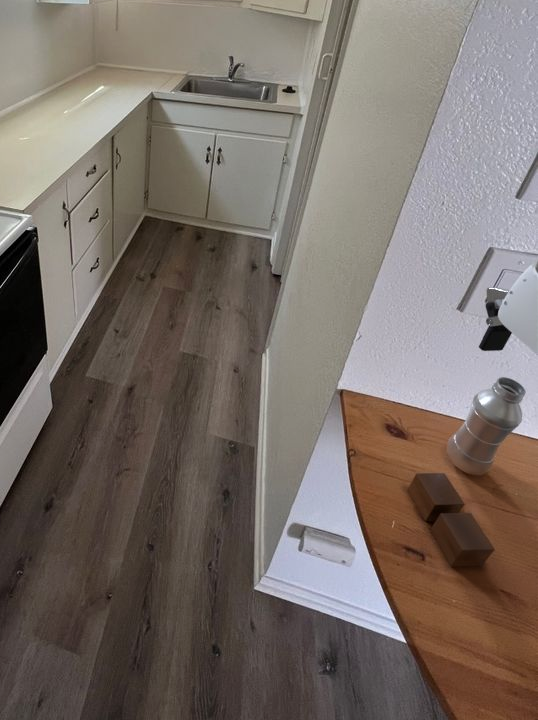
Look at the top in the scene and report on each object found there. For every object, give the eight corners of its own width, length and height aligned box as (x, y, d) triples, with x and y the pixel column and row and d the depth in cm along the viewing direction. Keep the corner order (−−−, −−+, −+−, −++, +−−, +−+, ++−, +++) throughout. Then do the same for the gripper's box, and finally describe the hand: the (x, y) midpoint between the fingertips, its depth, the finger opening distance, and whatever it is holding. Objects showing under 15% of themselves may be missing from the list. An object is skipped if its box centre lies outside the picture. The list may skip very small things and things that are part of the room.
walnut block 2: (459, 529, 68) (470, 512, 66) (481, 566, 63) (495, 549, 61) (429, 530, 68) (440, 513, 65) (450, 566, 63) (462, 550, 61)
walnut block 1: (434, 489, 73) (444, 472, 71) (453, 520, 69) (465, 504, 67) (407, 490, 73) (416, 473, 71) (424, 521, 69) (435, 504, 66)
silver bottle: (494, 472, 76) (547, 395, 67) (469, 486, 74) (520, 409, 64) (458, 439, 81) (503, 365, 72) (434, 452, 79) (476, 376, 70)
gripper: (700, 325, 42) (611, 435, 50) (543, 234, 58) (493, 329, 66) (629, 327, 42) (550, 438, 50) (490, 235, 57) (446, 331, 65)
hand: (518, 376), depth 58 cm, fingers open, 9 cm apart
